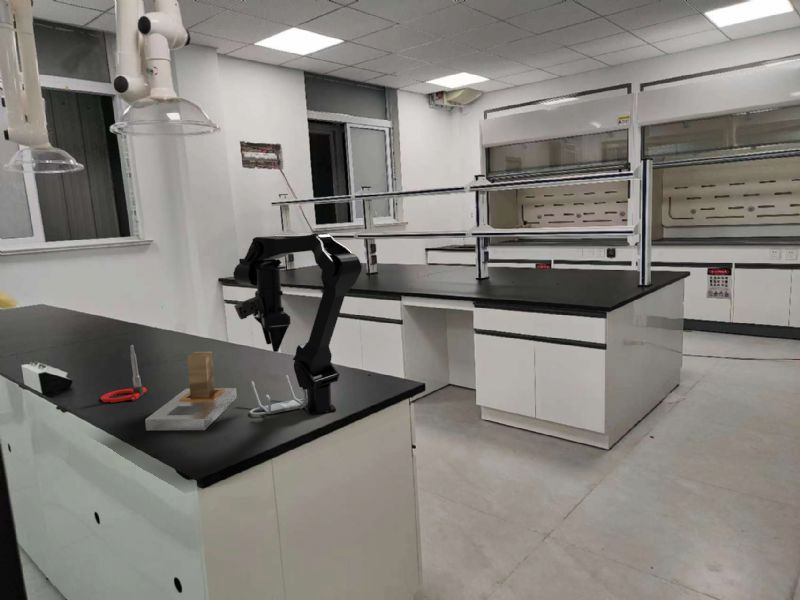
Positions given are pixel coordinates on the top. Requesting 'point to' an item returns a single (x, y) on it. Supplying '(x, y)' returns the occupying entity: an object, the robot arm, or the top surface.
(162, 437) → the top surface
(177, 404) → the grey peg hole board
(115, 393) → the tow hook
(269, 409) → the wall mount rack
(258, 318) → the robot arm
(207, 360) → the peg
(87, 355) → the top surface
